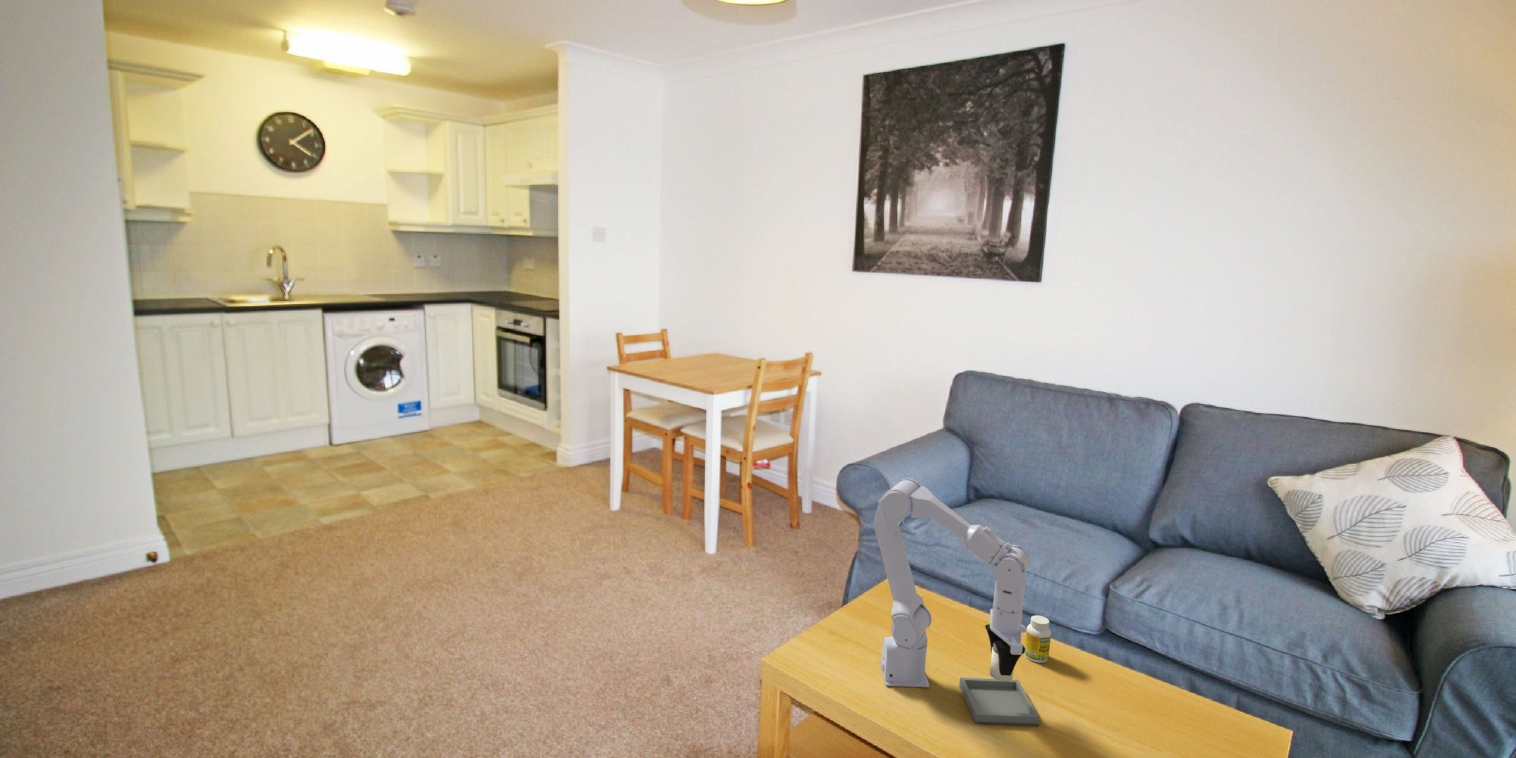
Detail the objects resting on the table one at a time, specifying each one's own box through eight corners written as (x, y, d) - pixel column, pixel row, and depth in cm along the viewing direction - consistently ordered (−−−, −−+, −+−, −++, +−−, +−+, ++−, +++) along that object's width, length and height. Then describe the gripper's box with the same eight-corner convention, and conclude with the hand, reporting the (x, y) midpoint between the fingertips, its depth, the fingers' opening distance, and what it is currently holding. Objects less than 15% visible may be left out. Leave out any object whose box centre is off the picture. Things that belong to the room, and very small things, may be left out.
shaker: (993, 681, 147) (996, 651, 146) (986, 668, 152) (989, 639, 151) (1015, 681, 147) (1018, 652, 146) (1008, 669, 152) (1011, 640, 151)
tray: (975, 723, 145) (976, 714, 145) (959, 685, 157) (959, 677, 157) (1038, 725, 145) (1039, 717, 145) (1017, 688, 157) (1018, 679, 157)
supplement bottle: (1033, 648, 173) (1037, 611, 172) (1053, 659, 169) (1057, 621, 167) (1019, 654, 170) (1023, 617, 169) (1038, 666, 166) (1043, 627, 164)
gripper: (1040, 625, 140) (1033, 689, 142) (1015, 590, 154) (1009, 648, 156) (1004, 624, 140) (997, 687, 142) (982, 589, 154) (976, 647, 156)
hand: (1001, 667), depth 149 cm, fingers closed on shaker, 4 cm apart
